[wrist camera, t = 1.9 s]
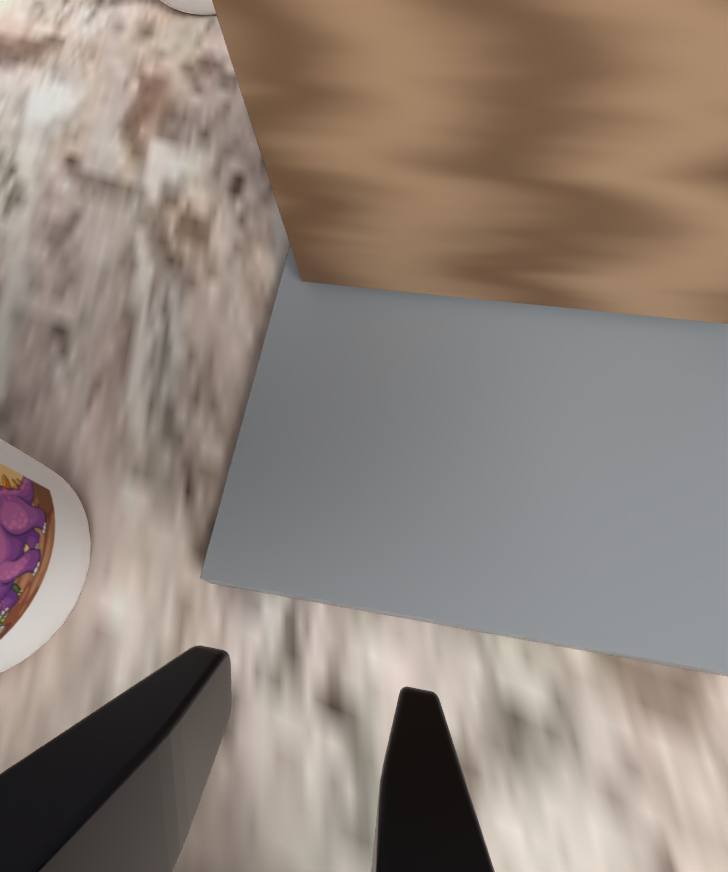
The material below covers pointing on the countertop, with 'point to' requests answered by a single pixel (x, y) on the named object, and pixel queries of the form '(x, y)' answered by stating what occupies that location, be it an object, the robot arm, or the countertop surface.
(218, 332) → the countertop surface
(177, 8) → the teacup
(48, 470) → the milk bottle
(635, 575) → the board
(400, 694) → the robot arm
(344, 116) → the panel
